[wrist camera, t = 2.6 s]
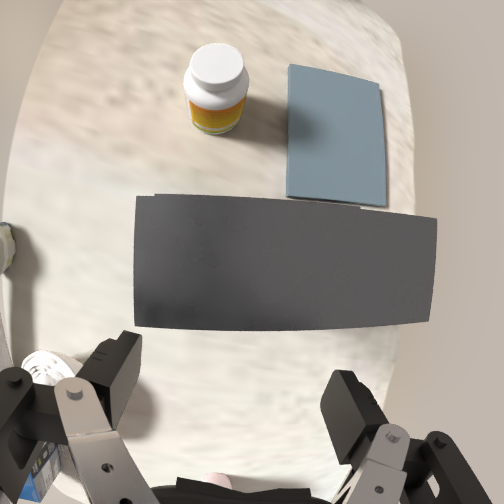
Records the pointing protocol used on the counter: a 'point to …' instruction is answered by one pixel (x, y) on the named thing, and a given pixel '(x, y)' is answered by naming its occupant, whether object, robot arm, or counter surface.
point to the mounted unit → (278, 264)
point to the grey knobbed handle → (3, 250)
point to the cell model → (50, 367)
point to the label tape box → (42, 473)
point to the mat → (334, 138)
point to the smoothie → (218, 480)
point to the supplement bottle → (216, 88)
